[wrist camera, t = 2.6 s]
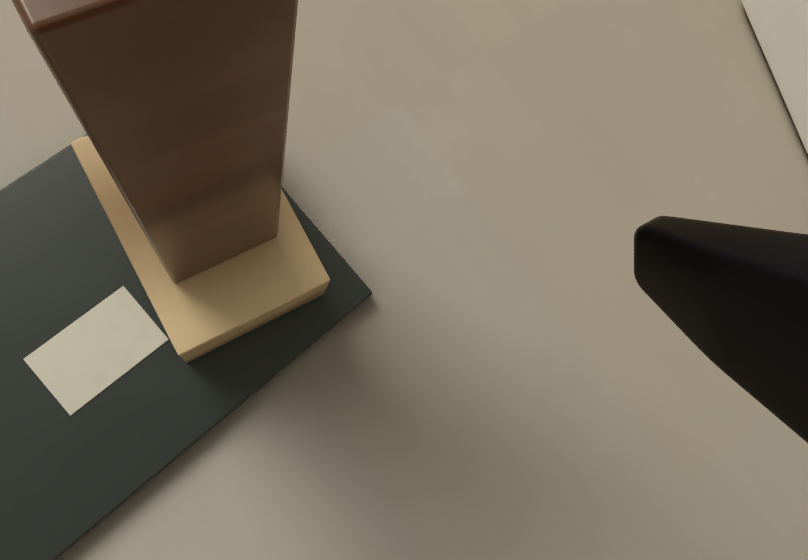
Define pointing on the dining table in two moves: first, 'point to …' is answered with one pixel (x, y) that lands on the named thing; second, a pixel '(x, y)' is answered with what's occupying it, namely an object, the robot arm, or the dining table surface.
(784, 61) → the milk carton
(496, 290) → the dining table surface
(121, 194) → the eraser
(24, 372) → the slate board
